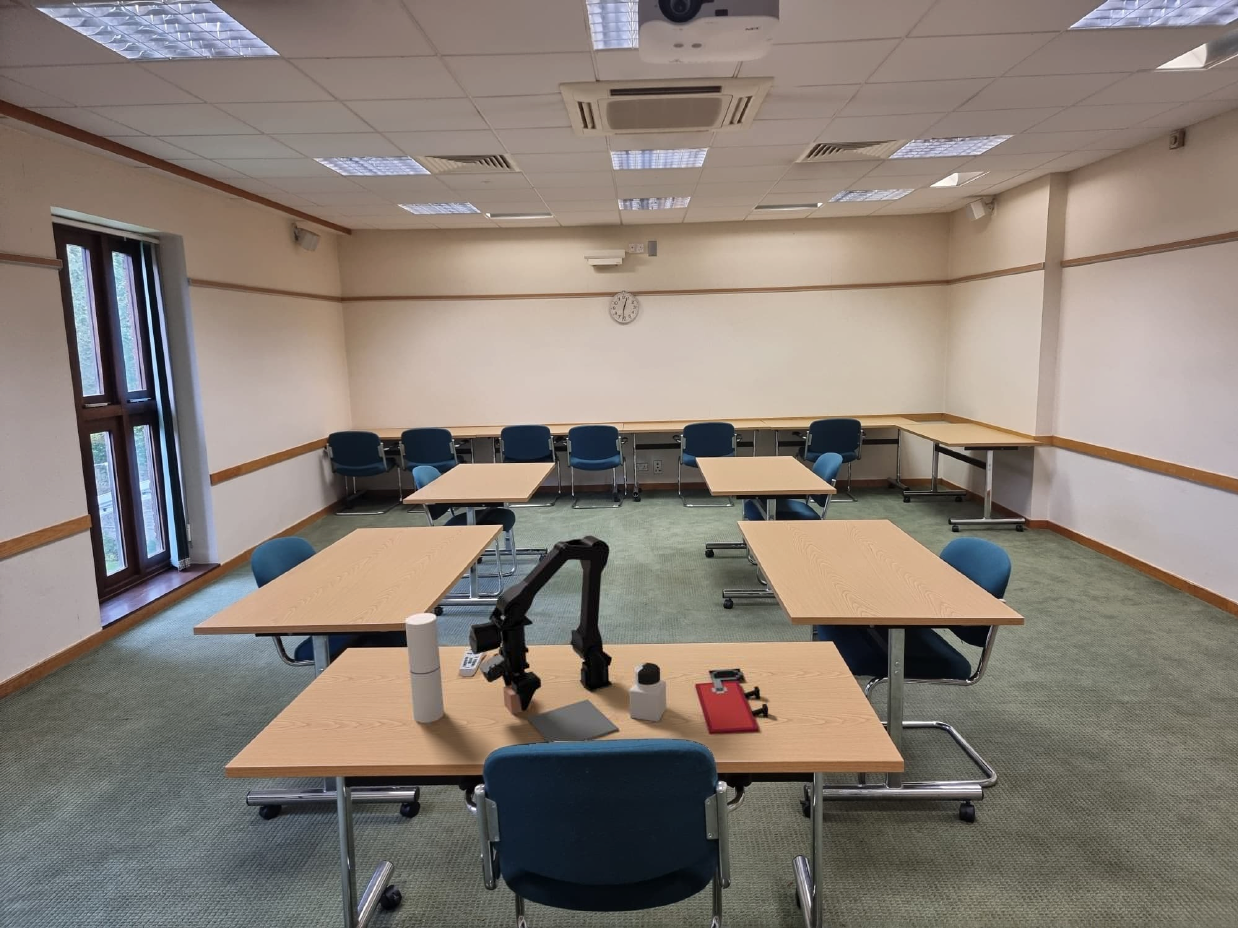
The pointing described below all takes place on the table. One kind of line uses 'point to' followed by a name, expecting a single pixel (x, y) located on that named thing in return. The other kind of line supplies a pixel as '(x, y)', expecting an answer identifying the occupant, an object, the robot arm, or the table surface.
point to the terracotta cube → (512, 700)
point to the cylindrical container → (424, 667)
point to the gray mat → (573, 723)
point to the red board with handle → (728, 703)
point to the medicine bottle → (647, 693)
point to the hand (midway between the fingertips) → (517, 702)
